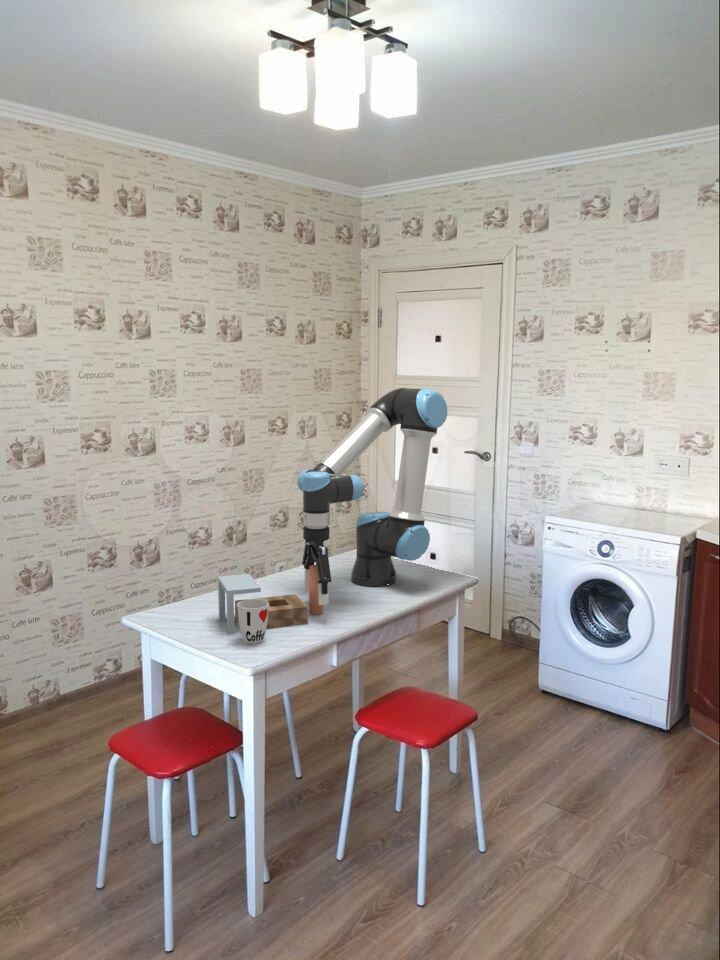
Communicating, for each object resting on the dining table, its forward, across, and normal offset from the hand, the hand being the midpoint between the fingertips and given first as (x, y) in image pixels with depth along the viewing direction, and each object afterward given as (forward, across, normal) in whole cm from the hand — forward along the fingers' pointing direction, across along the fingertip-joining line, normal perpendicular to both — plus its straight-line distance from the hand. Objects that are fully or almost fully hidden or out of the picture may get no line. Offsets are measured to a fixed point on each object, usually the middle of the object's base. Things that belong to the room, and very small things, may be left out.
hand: (316, 597), depth 220 cm
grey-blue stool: (+5, +2, -23) cm, 24 cm away
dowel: (+5, 0, 0) cm, 5 cm away
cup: (+5, +15, -22) cm, 27 cm away
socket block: (+5, +2, -14) cm, 15 cm away
